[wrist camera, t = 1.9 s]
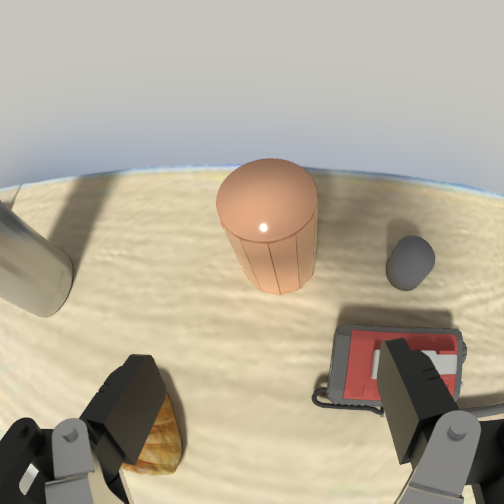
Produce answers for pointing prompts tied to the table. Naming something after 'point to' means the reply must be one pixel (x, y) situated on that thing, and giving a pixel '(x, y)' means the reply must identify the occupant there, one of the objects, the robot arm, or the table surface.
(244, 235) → the cup
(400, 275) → the gray rounded pebble
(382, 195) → the table surface
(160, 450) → the pastry
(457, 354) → the walkie-talkie
